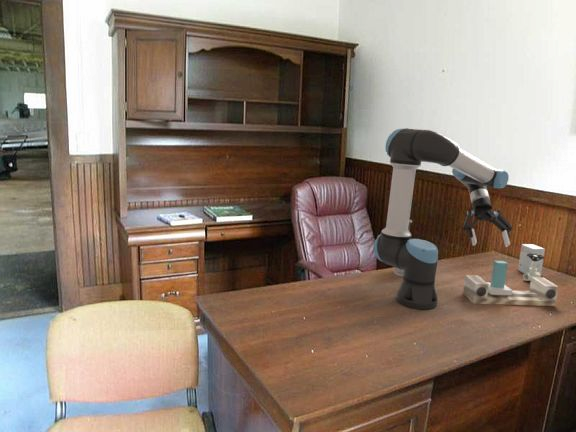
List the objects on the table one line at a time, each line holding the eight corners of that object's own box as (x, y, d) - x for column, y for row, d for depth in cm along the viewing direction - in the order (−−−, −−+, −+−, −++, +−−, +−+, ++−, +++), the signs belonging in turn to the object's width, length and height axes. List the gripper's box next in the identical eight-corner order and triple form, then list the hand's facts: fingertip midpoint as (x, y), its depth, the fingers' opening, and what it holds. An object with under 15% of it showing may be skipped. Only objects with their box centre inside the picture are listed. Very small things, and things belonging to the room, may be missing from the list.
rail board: (473, 303, 174) (476, 284, 173) (462, 293, 185) (465, 274, 183) (555, 306, 175) (559, 287, 173) (540, 296, 185) (543, 277, 184)
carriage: (490, 296, 175) (495, 264, 173) (481, 288, 183) (486, 258, 180) (511, 297, 176) (516, 265, 173) (501, 289, 183) (506, 259, 181)
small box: (541, 275, 211) (545, 248, 208) (529, 276, 209) (534, 249, 206) (528, 269, 218) (532, 243, 216) (517, 270, 217) (521, 244, 214)
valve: (519, 278, 205) (523, 253, 202) (531, 277, 207) (535, 252, 204) (531, 284, 199) (535, 257, 196) (543, 283, 201) (547, 257, 198)
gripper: (505, 207, 200) (517, 250, 189) (449, 205, 200) (457, 247, 188) (513, 198, 194) (525, 241, 182) (455, 195, 193) (464, 239, 182)
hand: (491, 244), depth 185 cm, fingers open, 13 cm apart
